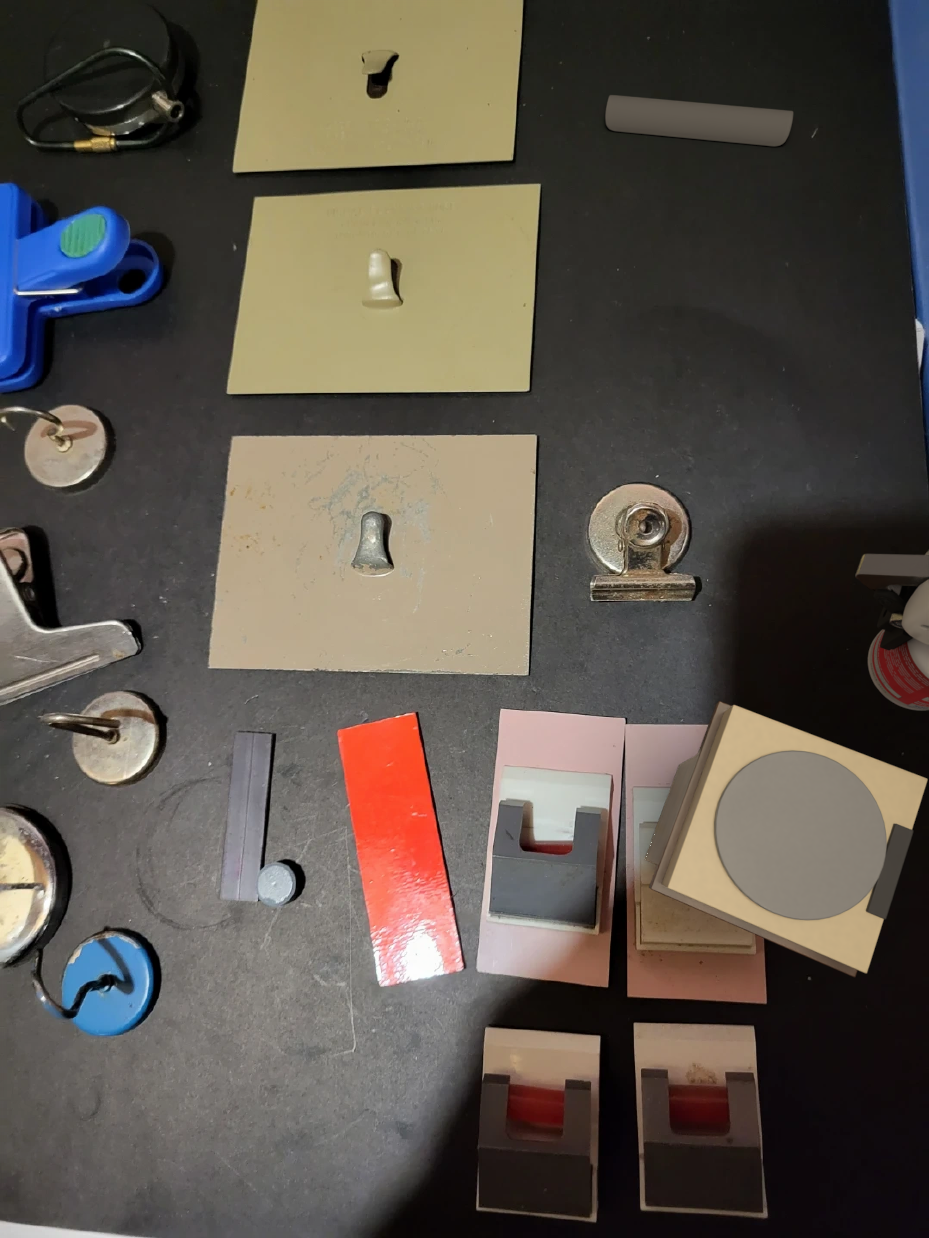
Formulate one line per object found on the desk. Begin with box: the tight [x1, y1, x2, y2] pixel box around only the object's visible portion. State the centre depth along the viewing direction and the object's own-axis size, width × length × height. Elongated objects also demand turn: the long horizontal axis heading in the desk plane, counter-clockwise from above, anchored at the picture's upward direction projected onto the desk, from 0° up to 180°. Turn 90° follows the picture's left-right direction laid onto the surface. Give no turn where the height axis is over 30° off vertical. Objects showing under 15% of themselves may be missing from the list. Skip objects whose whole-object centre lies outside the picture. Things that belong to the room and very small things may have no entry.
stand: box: [644, 700, 858, 978], centre depth 64 cm, size 12×12×27 cm
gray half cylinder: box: [604, 94, 794, 147], centre depth 93 cm, size 4×20×2 cm, turn 77°
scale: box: [662, 704, 928, 974], centre depth 49 cm, size 11×11×4 cm
